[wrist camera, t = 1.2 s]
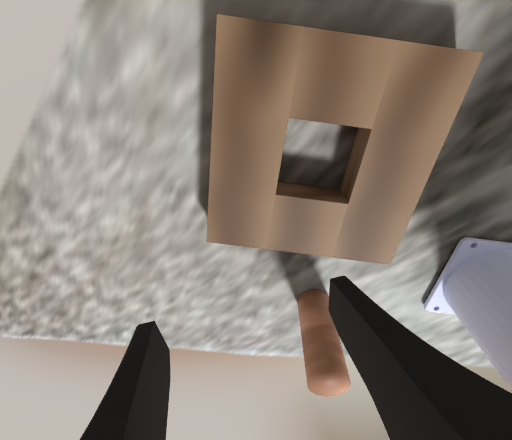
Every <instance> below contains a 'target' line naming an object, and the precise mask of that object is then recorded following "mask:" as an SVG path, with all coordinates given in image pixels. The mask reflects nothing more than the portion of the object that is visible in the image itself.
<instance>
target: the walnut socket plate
mask: <svg viewBox="0 0 512 440" xmlns="http://www.w3.org/2000/svg"><path fill="white" fill-rule="evenodd" d="M483 54H484V53H483V52H476V51H469V50H462V49H456V48H449V47H442V46H435V45H428V44H421V43H414V42H407V41H400V40H393V39H386V38H379V37H372V36H366V35H359V34H352V33H345V32H338V31H331V30H324V29H317V28H310V27H303V26H296V25H289V24H283V23H276V22H269V21H262V20H255V19H248V18H241V17H234V16H227V15H220V14H217V23H216V45H215V66H214V88H213V110H212V132H211V153H210V175H209V197H208V218H207V240H206V242H212V243H220V244H228V245H236V246H244V247H252V248H260V249H268V250H277V251H285V252H293V253H301V254H309V255H317V256H325V257H333V258H341V259H349V260H357V261H365V262H373V263H381V264H389V265H390V264H391V262H392V259H393V257H394V255H395V253H396V250H397V248H398V246H399V244H400V241H401V239H402V237H403V235H404V232H405V230H406V228H407V226H408V223H409V221H410V219H411V217H412V214H413V212H414V210H415V207H416V205H417V203H418V201H419V198H420V196H421V194H422V192H423V189H424V187H425V185H426V183H427V180H428V178H429V176H430V174H431V171H432V169H433V167H434V165H435V162H436V160H437V158H438V155H439V153H440V151H441V149H442V146H443V144H444V142H445V140H446V137H447V135H448V133H449V131H450V128H451V126H452V124H453V122H454V119H455V117H456V115H457V113H458V110H459V108H460V106H461V103H462V101H463V99H464V97H465V94H466V92H467V90H468V88H469V85H470V83H471V81H472V79H473V76H474V74H475V72H476V70H477V67H478V65H479V63H480V61H481V58H482V56H483ZM288 118H294V119H302V120H309V121H316V122H324V123H331V124H338V125H346V126H353V127H358V130H357V134H356V137H355V141H354V144H353V148H352V151H351V155H350V158H349V162H348V165H347V169H346V172H345V175H344V179H343V182H342V186H341V189H340V190H339V189H331V188H323V187H316V186H308V185H300V184H293V183H285V182H278V177H279V171H280V165H281V159H282V153H283V147H284V142H285V136H286V130H287V124H288Z"/></svg>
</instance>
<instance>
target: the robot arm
mask: <svg viewBox="0 0 512 440" xmlns="http://www.w3.org/2000/svg"><path fill="white" fill-rule="evenodd" d="M473 243H474V244H473ZM471 244H473V245H471ZM424 308H425V310H426V311H430V312H438V313H446V314H454V315H456V316H457V317H458V319H459V320H460V321H461V323H462V324H463V325H464V327H465V328H466V330H467V331H468V332H469V334H470V335H471V336H472V338H473V339H474V340H475V342H476V343H477V344H478V346H479V347H480V349H481V350H482V351H483V353H484V354H485V355H486V357H487V358H488V359H489V361H490V362H491V363H492V365H493V366H494V368H495V369H496V370H497V372H498V373H499V374H500V376H501V377H502V378H503V380H504V381H505V383H506V384H507V385H508V387H509V388H510V389H511V390H512V243H508V242H501V241H493V240H485V239H477V238H469V237H466V238H463V239H461V240H460V241H459V243H458V245H457V247H456V248H455V250H454V252H453V254H452V256H451V257H450V259H449V261H448V263H447V264H446V266H445V268H444V270H443V272H442V273H441V275H440V277H439V279H438V280H437V282H436V284H435V286H434V287H433V289H432V291H431V293H430V295H429V296H428V298H427V300H426V302H425V303H424ZM328 310H329V313H330V315H331V318H332V320H333V323H334V325H335V328H336V330H337V332H338V335H339V336H340V338H341V340H342V342H343V344H344V346H345V348H346V350H347V351H348V353H349V355H350V357H351V359H352V361H353V362H354V364H355V366H356V368H357V369H358V372H359V373H360V375H361V377H362V379H363V381H364V383H365V384H366V386H367V388H368V390H369V392H370V394H371V396H372V399H373V401H374V403H375V405H376V408H377V410H378V412H379V415H380V417H381V419H382V421H383V424H384V426H385V428H386V431H387V433H388V436H389V438H390V440H512V393H510V392H508V391H506V390H504V389H503V388H501V387H499V386H497V385H495V384H493V383H491V382H490V381H488V380H486V379H484V378H482V377H481V376H479V375H478V374H476V373H474V372H472V371H470V370H469V369H467V368H465V367H464V366H462V365H460V364H459V363H457V362H455V361H454V360H452V359H451V358H449V357H447V356H446V355H444V354H443V353H441V352H440V351H438V350H437V349H435V348H434V347H432V346H431V345H429V344H428V343H426V342H425V341H423V340H422V339H421V338H419V337H418V336H416V335H415V334H414V333H412V332H411V331H410V330H408V329H407V328H406V327H404V326H403V325H402V324H400V323H399V322H398V321H397V320H395V319H394V318H393V317H392V316H390V315H389V314H388V313H387V312H386V311H384V310H383V309H382V308H381V307H379V306H378V305H377V304H376V303H375V302H374V301H372V300H371V299H370V298H369V297H368V296H367V295H366V294H364V293H363V292H362V291H361V290H360V289H359V288H358V287H357V286H356V285H355V284H353V283H352V282H351V281H350V280H349V279H348V278H347V277H346V276H340V277H336V278H332V279H330V292H329V308H328ZM169 352H170V351H169V348H168V346H167V344H166V342H165V340H164V338H163V337H162V335H161V333H160V331H159V329H158V327H157V325H156V323H155V321H152V322H148V323H144V324H140V325H138V326H137V327H136V330H135V332H134V334H133V337H132V339H131V341H130V344H129V346H128V348H127V351H126V353H125V355H124V357H123V360H122V361H121V364H120V366H119V368H118V370H117V372H116V374H115V376H114V378H113V380H112V382H111V384H110V386H109V388H108V390H107V392H106V394H105V396H104V398H103V399H102V401H101V403H100V405H99V407H98V409H97V411H96V412H95V414H94V416H93V418H92V420H91V421H90V423H89V425H88V427H87V428H86V430H85V432H84V433H83V435H82V437H81V438H80V440H166V427H167V415H168V402H169V389H170V353H169Z"/></svg>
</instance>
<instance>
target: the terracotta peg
mask: <svg viewBox="0 0 512 440" xmlns="http://www.w3.org/2000/svg"><path fill="white" fill-rule="evenodd" d="M328 308H329V296H328V295H327V294H326V293H325V292H324V291H321V290H317V289H312V290H307V291H305V292H303V293H302V294H301V295H300V296H299V298H298V310H299V318H300V327H301V335H302V344H303V352H304V361H305V369H306V376H307V385H308V388H309V389H310V391H311V392H313V393H314V394H317V395H320V396H336V395H339V394H342V393H344V392H345V391H346V390H347V389H348V388H349V387H350V378H349V374H348V370H347V366H346V363H345V358H344V354H343V351H342V347H341V343H340V339H339V335H338V332H337V330H336V328H335V325H334V323H333V320H332V318H331V315H330V313H329V310H328Z"/></svg>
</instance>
